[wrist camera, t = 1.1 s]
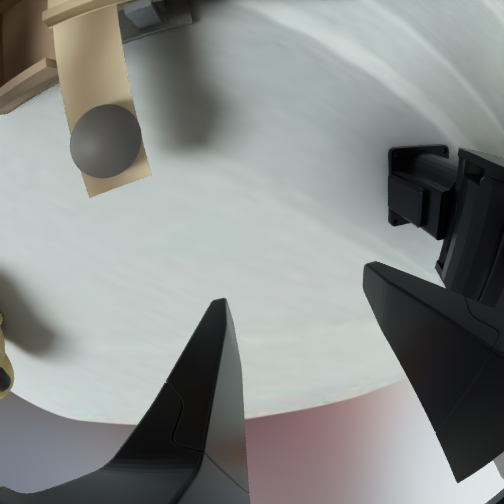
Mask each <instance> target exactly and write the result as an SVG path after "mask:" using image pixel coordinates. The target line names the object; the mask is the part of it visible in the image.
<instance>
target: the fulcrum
mask: <svg viewBox="0 0 504 504" xmlns="http://www.w3.org/2000/svg"><path fill="white" fill-rule="evenodd" d="M117 13H118V20H119V27H120V34H121V40H122V44H123V43H126V42H129V41H132V40H135V39H138V38H141V37H144V36H147V35H150V34H154V33H157V32H161V31H164V30H168V29H172V28H176V27H180V26H184V25H189V24H193V22H192V17H191V11H190V6H189V1H188V0H162V1H157V2H153V1H152V0H137V1H134V2H131V3H128V4H125V5H124V9H122V10H119V11H117Z"/></svg>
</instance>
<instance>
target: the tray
mask: <svg viewBox="0 0 504 504" xmlns="http://www.w3.org/2000/svg"><path fill="white" fill-rule="evenodd" d="M46 10H48V0H0V115H2V114H8V113H9V112H11V111H12V110H14V109H15V108H17V107H18V106H20V105H21V104H23V103H24V102H26V101H28V100H29V99H31V98H32V97H34V96H36V95H37V94H39V93H41V92H43V91H44V90H46V89H48V88H50V87H52V86H53V85H55V84H57V83H59V82H60V81H59V75H58V68H57V61H56V53H55V45H54V34H53V33H52V32H51V31H50V30H49V27H48V26H47V25H46V24H45V23H44V22H43V21H42V12H43V11H46Z"/></svg>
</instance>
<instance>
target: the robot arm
mask: <svg viewBox="0 0 504 504" xmlns="http://www.w3.org/2000/svg"><path fill="white" fill-rule="evenodd" d="M443 149H444V152H443ZM395 152H396V156H395V157H394V153H395ZM458 156H459V163H457V162H455V161H452V160H450V159H449V149H448V147H447V146H446V145H442V144H441V145H420V146H405V147H393V148H391V149H390V150H389V152H388V161H389V176H388V206H389V215H388V221H389V223H390V224H391V225H392V226H399V225H403V224H408V223H412V224H413V225H415V226H416V227H418V228H422V229H423V230H424V231H426V232H427V233H429V234H430V235H431V236H433V237H434V238H435V239H436V240H444V242H443V245H442V249H441V253H440V256H439V260H437V262H436V266H435V269H436V270H437V272H438V274H439V276H440V278H441V280H442V281H443V283H444V285H445V287H446V288H443V287H441V286H438V285H436V284H433V283H431V282H428V281H426V280H423V279H421V278H418V277H416V276H413V275H411V274H408V273H406V272H403V271H401V270H398V269H395V268H393V267H390V266H388V265H385V264H382V263H380V262H377V261H374V262H371V263H367V264H365V265H364V271H363V290H364V293H365V295H366V297H367V299H368V301H369V304H370V306H371V308H372V310H373V313H374V315H375V317H376V319H377V322H378V324H379V326H380V328H381V330H382V332H383V334H384V336H385V337H386V339H387V341H388V342H389V344H390V346H391V348H392V350H393V351H394V353H395V355H396V357H397V359H398V360H399V362H400V364H401V366H402V368H403V370H404V371H405V373H406V375H407V377H408V379H409V381H410V383H411V384H412V386H413V388H414V390H415V392H416V394H417V396H418V398H419V400H420V402H421V404H422V406H423V408H424V410H425V412H426V414H427V416H428V418H429V420H430V422H431V425H432V427H433V429H434V431H435V432H436V436H437V438H438V440H439V442H440V444H441V447H442V449H443V451H444V453H445V456H446V458H447V460H448V462H449V464H450V467H451V470H452V472H453V475H454V477H455V479H456V481H457V483H459V482H461V481H462V480H464V479H466V478H467V477H469V476H470V475H472V474H474V473H475V472H477V471H478V470H480V469H481V468H483V467H484V466H485V465H487V464H488V463H490V462H491V461H492V460H493V461H494V463H495V465H496V467H497V469H498V471H499V473H500V475H501V477H502V478H503V479H504V159H503V158H500V157H497V156H494V155H490V154H486V153H482V152H477V151H473V150H468V149H463V148H459V151H458ZM395 218H396V219H395ZM394 219H395V221H394V222H393V220H394ZM166 382H167V383H164V385H163V387H162V388H161V390H160V392H159V394H158V395H157V397H156V398H155V400H154V402H153V403H152V405H151V407H150V408H149V410H148V411H147V412H146V414H145V415H144V417H143V418H142V420H141V421H140V422H139V424H138V425H137V426H136V428H135V429H134V430H133V432H132V433H131V434H130V436H129V437H128V439H127V440H126V441H125V443H124V444H123V445H122V447H121V448H120V449H119V451H118V452H117V453H116V454H115V456H114V457H113V458H112V459H111V460H110V461H109V462H108V463H107V464H106V465H104V466H103V467H101V468H100V469H98V470H96V471H94V472H92V473H89V474H87V475H84V476H82V477H80V478H77V479H74V480H72V481H69V482H66V483H64V484H61V485H58V486H56V487H52V488H50V489H46V490H44V491H40V492H36V493H28V494H25V493H24V494H23V493H18V492H15V491H13V490H11V489H9V488H6V487H0V504H250V496H249V482H248V467H247V454H246V453H247V452H246V437H245V420H244V403H243V384H242V368H241V361H240V355H239V350H238V345H237V339H236V334H235V328H234V323H233V319H232V315H231V312H230V309H229V305H228V302H227V299H226V298H221V299H216V300H213V301H212V302H211V304H210V305H209V307H208V309H207V311H206V312H205V314H204V316H203V317H202V319H201V321H200V323H199V324H198V326H197V328H196V330H195V331H194V333H193V335H192V336H191V338H190V340H189V342H188V343H187V345H186V347H185V349H184V350H183V352H182V354H181V355H180V357H179V359H178V361H177V362H176V364H175V366H174V368H173V369H172V371H171V373H170V375H169V376H168V378H167V380H166ZM486 504H504V489H503V490H502V491H500V492H499V493H498V494H497V495H496V496H494V497H493V498H492V499H491V500H489V501H488V502H487V503H486Z"/></svg>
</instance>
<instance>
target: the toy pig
mask: <svg viewBox="0 0 504 504" xmlns="http://www.w3.org/2000/svg"><path fill="white" fill-rule="evenodd" d="M2 321H3V316H2V314H1V313H0V399H2V398H4V397H5V396H6V395H7V394H8V393H9V391H10V390H11V388H12V386H13V383H14V371H13V367H12V365H11V362H10V360H9V358H8V357H7V355H6V353H5V342H4V337H3V333H2V330H1V324H2Z"/></svg>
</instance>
